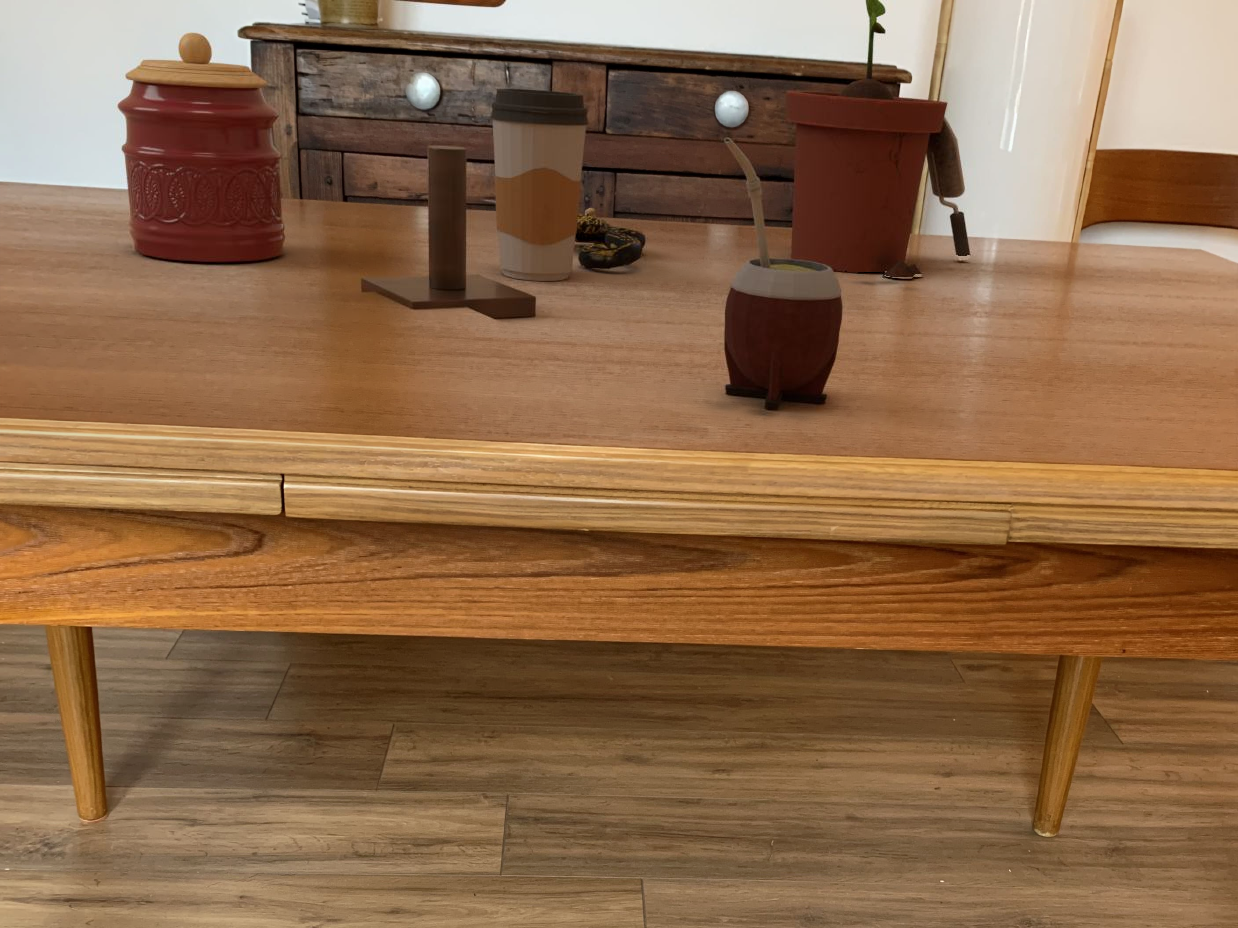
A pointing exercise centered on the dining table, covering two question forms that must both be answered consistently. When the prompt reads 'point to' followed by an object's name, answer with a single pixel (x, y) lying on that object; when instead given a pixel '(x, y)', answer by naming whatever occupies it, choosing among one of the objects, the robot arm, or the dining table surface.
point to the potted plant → (868, 172)
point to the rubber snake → (606, 243)
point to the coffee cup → (537, 180)
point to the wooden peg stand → (451, 253)
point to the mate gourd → (779, 320)
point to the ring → (463, 2)
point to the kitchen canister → (201, 160)
